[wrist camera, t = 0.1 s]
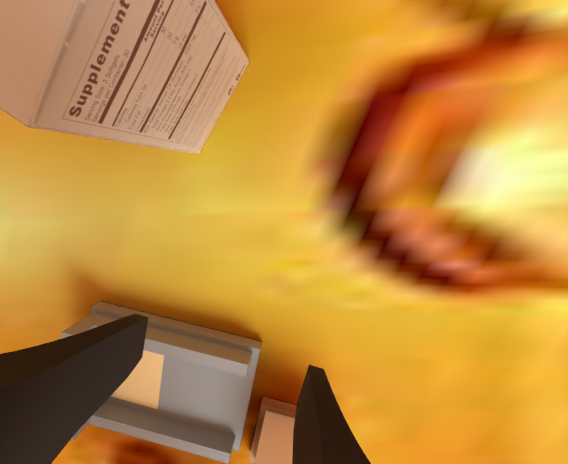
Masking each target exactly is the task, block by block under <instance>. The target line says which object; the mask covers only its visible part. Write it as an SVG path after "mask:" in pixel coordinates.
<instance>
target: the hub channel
mask: <svg viewBox="0 0 568 464" xmlns="http://www.w3.org/2000/svg"><path fill="white" fill-rule="evenodd" d="M132 314H139V315H142V316H146V317H148V324H147V330H146V337H145V343H144V350H143V356H142V359H141V360H140V361H139V363H138V364H137V366H136V367H135V368H134V370H133V371H132V372H131V374H130V375H129V376H128V378H127V379H126V380H125V381H124V382H123V383H122V384H121V385H120V386H119V388H118V389H117V390H116V391H115V392H114V393H113V394H112V395H111V396H110V397H109V398H108V399H107V400H106V401H105V402H104V404H103V405H102V406H101V407H100V408H99V409H98V410H97V411H96V412H95V413H94V414H93V415H92V416H91V417H90V418H89V419H88V420H87V422H86V423H85V424H84V425H83V426H82V427H81V428H80V429H79V430H78V431H77V432H76V434H75V435H74V436H73V437H72V438H71V439H70V440H72V441H73V440H74V439H75V438H76V437H77V436H78V435H79V434H80V432H81V431H82V430H83V429H84V428H85V427H86V426H87V425H88V424H90V425H94V426H97V427H101V428H104V429H108V430H111V431H115V432H118V433H122V434H126V435H129V436H133V437H136V438H140V439H143V440H147V441H150V442H154V443H157V444H161V445H164V446H168V447H171V448H175V449H178V450H182V451H185V452H189V453H193V454H196V455H200V456H203V457H207V458H210V459H214V460H217V461H221V462H224V463H229V460H230V457H231V453H232V450H236V451H239V448H240V445H241V441H242V436H243V432H244V427H245V422H246V417H247V412H248V408H249V403H250V398H251V393H252V388H253V384H254V379H255V374H256V369H257V364H258V359H259V355H260V350H261V345H262V342H261V341H257V340H253V339H249V338H245V337H241V336H237V335H233V334H229V333H225V332H221V331H217V330H213V329H209V328H205V327H201V326H197V325H193V324H189V323H185V322H181V321H177V320H173V319H169V318H165V317H161V316H157V315H153V314H149V313H145V312H141V311H137V310H134V309H130V308H126V307H122V306H118V305H114V304H110V303H106V302H102V301H100V302H98V303H97V304H95V305H93V306H91V314H90V315H89V316H87V317H86V318H84V319H82V320H81V321H79V322H77V323H76V324H74V325H73V326H71V327H69V328H68V329H66V330H65V331H63V332H62V338H66V337H69V336H72V335H75V334H78V333H81V332H84V331H87V330H90V329H93V328H95V327H98V326H101V325H104V324H107V323H109V322H112V321H115V320H118V319H120V318H123V317H126V316H129V315H132ZM62 338H61V339H62Z"/></svg>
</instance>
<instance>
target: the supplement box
mask: <svg viewBox="0 0 568 464" xmlns="http://www.w3.org/2000/svg"><path fill="white" fill-rule="evenodd" d="M248 64H249V58H248V57H247V55H246V53H245V52H244V50H243V48H242V46H241V45H240V43H239V42H238V40H237V38H236V37H235V35H234V33H233V31H232V30H231V28H230V26H229V24H228V23H227V21H226V19H225V17H224V16H223V14H222V12H221V11H220V9H219V7H218V5H217V4H216V2H215V0H0V109H1V110H3V111H4V112H6V113H7V114H9V115H10V116H12V117H13V118H15V119H16V120H18V121H19V122H21V123H22V124H24V125H25V126H27V127H30V128H38V129H44V130H51V131H57V132H63V133H69V134H75V135H82V136H87V137H95V138H101V139H107V140H113V141H119V142H125V143H131V144H137V145H143V146H149V147H156V148H162V149H169V150H175V151H182V152H189V153H196V154H199V153H200V151H201V149H202V147H203V145H204V144H205V142H206V140H207V139H208V137H209V135H210V133H211V131H212V129H213V128H214V126H215V124H216V122H217V120H218V118H219V117H220V115H221V113H222V111H223V109H224V108H225V106H226V104H227V102H228V100H229V99H230V97H231V95H232V93H233V91H234V90H235V88H236V86H237V84H238V82H239V80H240V78H241V77H242V75H243V73H244V71H245V69H246V67H247V66H248Z"/></svg>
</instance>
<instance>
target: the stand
mask: <svg viewBox="0 0 568 464" xmlns="http://www.w3.org/2000/svg"><path fill="white" fill-rule="evenodd" d="M296 407H297V405H294V404H290V403H286V402H282V401H278V400H275V399H271V398H267V397H263V398H262V402H261V407H260V411H259V416H258V420H257V425H256V430H255V434H254V439H253V443H252V448H251V452H250V457H249V462H253V463H254V462H255V457H256V453H257V448H258V444H259V439H260V435H261V430H262V426H263V421H264V417H265V413H266V411H269V412H273V413H277V414H281V415H284V416H288V417H292V418H295V414H296Z"/></svg>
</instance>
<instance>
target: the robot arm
mask: <svg viewBox="0 0 568 464" xmlns="http://www.w3.org/2000/svg"><path fill="white" fill-rule="evenodd" d="M147 324H148V317H146V316H142V315H139V314H132V315H129V316H126V317H123V318H120V319H118V320H115V321H112V322H109V323H107V324H104V325H101V326H98V327H95V328H93V329H90V330H87V331H84V332H81V333H78V334H75V335H72V336H69V337H66V338H62V339H59V340H56V341H53V342H49V343H46V344H42V345H38V346H34V347H30V348H26V349H22V350H18V351H14V352H8V353H3V354H0V464H51V463H52V462H53V460H54V459H55V458H56V457H57V455H58V454H59V453H60V452H61V450H62V449H63V448H64V447H65V445H66V444H67V443H68V442H69V441H70V439H71V438H72V437H73V436H74V435H75V434H76V432H77V431H78V430H79V429H80V428H81V427H82V426H83V425H84V424H85V423H86V422H87V420H88V419H89V418H90V417H91V416H92V415H93V414H94V413H95V412H96V411H97V410H98V409H99V408H100V407H101V406H102V405H103V404H104V402H105V401H106V400H107V399H108V398H109V397H110V396H111V395H112V394H113V393H114V392H115V391H116V390H117V389H118V388H119V386H120V385H121V384H122V383H123V382H124V381H125V380H126V379H127V378H128V376H129V375H130V374H131V372H132V371H133V370H134V368H135V367H136V366H137V364H138V363H139V361H140V360H141V359H142V356H143V350H144V343H145V337H146V330H147ZM292 464H371V463H370V462H369V460H368V459H367V457H366V455H365V454H364V452H363V451H362V449H361V447H360V446H359V444H358V442H357V441H356V439H355V437H354V435H353V433H352V432H351V430H350V428H349V426H348V424H347V422H346V420H345V418H344V416H343V414H342V412H341V410H340V407H339V405H338V403H337V401H336V399H335V396H334V394H333V392H332V389H331V387H330V384H329V382H328V379H327V376H326V374H325V371H324V369H322V368H318V367H315V366H311V365H309V367H308V370H307V373H306V377H305V380H304V383H303V386H302V389H301V393H300V396H299V399H298V402H297V407H296V414H295V421H294V429H293V456H292Z"/></svg>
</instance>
